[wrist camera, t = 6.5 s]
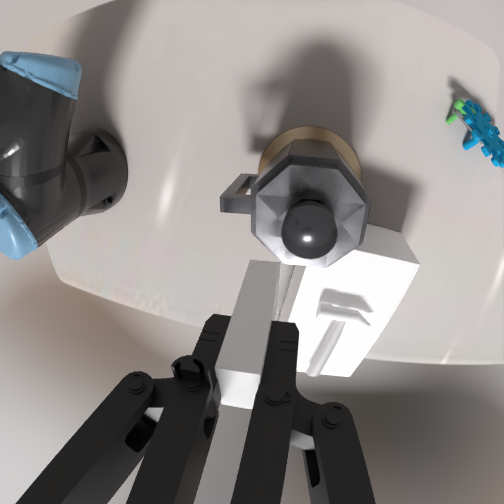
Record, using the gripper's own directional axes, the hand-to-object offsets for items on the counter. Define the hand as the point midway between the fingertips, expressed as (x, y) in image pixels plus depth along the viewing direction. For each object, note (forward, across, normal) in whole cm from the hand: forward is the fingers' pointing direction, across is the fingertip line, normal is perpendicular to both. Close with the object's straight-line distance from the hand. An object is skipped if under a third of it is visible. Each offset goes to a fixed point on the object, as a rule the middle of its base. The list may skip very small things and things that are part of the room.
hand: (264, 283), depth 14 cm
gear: (+25, +26, +10) cm, 38 cm away
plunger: (+22, +3, -1) cm, 22 cm away
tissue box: (+25, +8, -19) cm, 33 cm away
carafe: (+25, +1, -1) cm, 25 cm away
